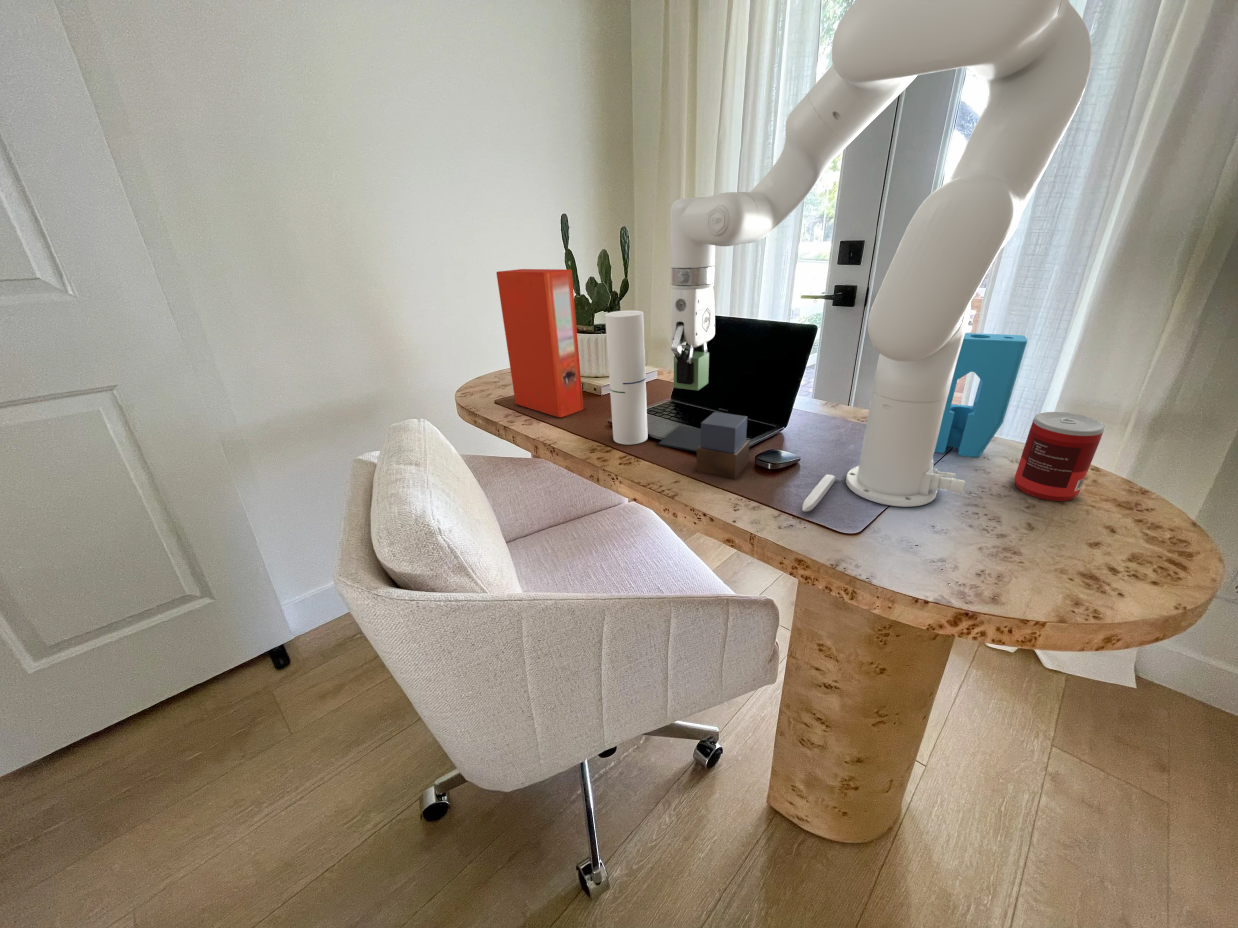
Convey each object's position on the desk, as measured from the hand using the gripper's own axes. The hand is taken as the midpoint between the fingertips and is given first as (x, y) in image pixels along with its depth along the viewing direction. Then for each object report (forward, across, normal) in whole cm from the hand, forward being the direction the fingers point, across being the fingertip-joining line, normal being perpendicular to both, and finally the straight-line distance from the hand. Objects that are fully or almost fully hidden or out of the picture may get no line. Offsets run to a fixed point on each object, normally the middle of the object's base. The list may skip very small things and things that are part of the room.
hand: (691, 378), depth 93 cm
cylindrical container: (+13, -4, +12) cm, 18 cm away
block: (+13, +15, -44) cm, 48 cm away
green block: (+1, 0, 0) cm, 1 cm away
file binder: (+13, +5, +41) cm, 43 cm away
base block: (+13, -9, -10) cm, 19 cm away
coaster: (+13, 0, 0) cm, 13 cm away
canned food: (+13, +4, -56) cm, 58 cm away
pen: (+13, -13, -27) cm, 33 cm away
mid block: (+8, -9, -10) cm, 16 cm away
